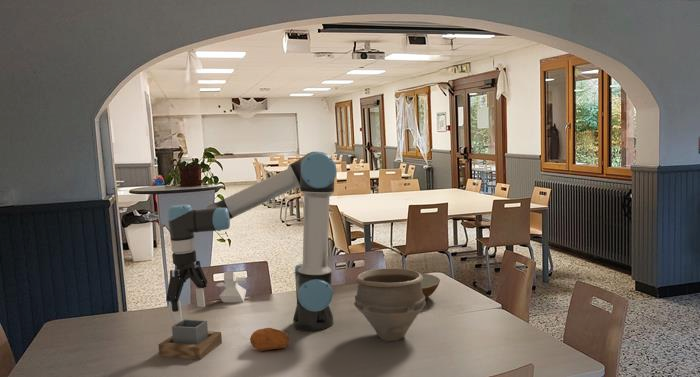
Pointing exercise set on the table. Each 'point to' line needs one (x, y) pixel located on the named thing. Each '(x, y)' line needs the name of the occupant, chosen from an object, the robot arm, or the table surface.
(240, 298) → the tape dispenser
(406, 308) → the planter
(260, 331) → the potato
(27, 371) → the table surface
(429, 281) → the bowl
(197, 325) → the grey open box
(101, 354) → the table surface
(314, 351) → the table surface
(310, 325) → the robot arm
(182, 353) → the walnut crate
